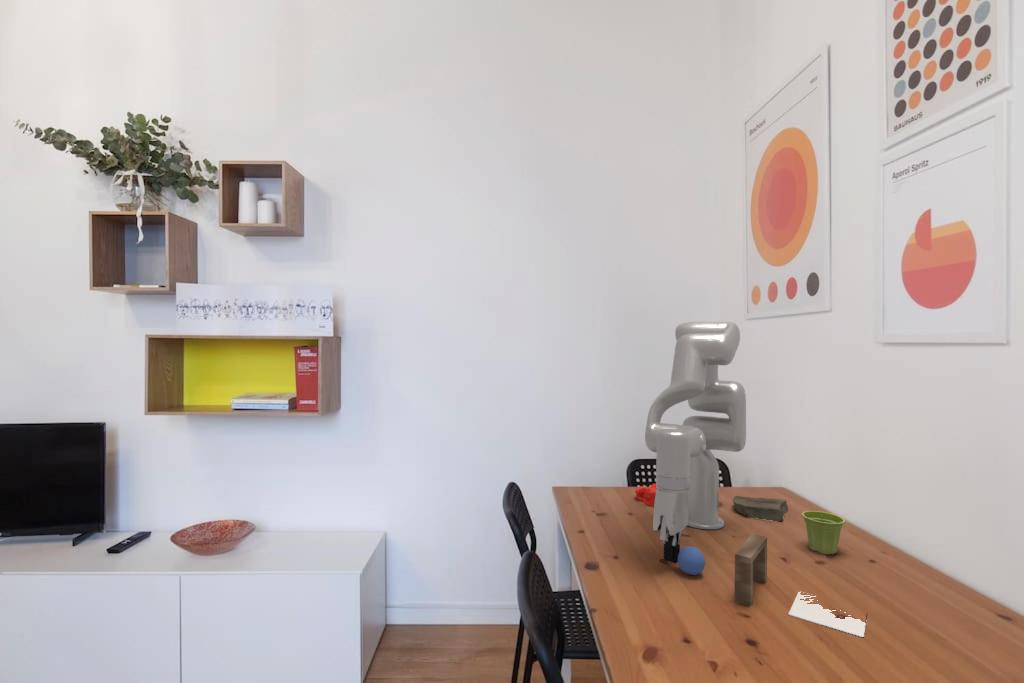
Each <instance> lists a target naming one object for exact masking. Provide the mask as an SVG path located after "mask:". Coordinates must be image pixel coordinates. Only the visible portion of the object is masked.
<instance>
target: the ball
mask: <svg viewBox="0 0 1024 683" xmlns="http://www.w3.org/2000/svg"><path fill="white" fill-rule="evenodd" d="M705 558H706V557H705V556H704V554H703V552H702V551H701V550H700V549H699V548H697V547H694V546H689V545H688V546H684V547H683V548H680V552H679V554H678V558H677V559H678V562H677V564H678V566H679V568H680V569H681V571H682V572H683V573H685V574H687V575H692V576H696V575H699V574H700V573H702V572H703V571H704V570H705V567H706V559H705Z"/></svg>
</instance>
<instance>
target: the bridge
mask: <svg viewBox="0 0 1024 683" xmlns="http://www.w3.org/2000/svg"><path fill="white" fill-rule="evenodd" d="M767 570H768V536H766V535H762V534H757V533H752V534H751V535H750V536H749V537H748V538H747V539H746V541H745V542H744V543H743V544H742V545H741V547H739V548H738V550H737V551H736V552H735V554H734V599H733V600H734V603H737V604H738V605H739V604H740V605H744V606H746V607H752V605H753V603H754V599H753V598H754V581H755V582H757V583H761V584H766V582H767V580H768V571H767Z"/></svg>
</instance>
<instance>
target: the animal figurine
mask: <svg viewBox="0 0 1024 683" xmlns="http://www.w3.org/2000/svg"><path fill="white" fill-rule="evenodd" d="M656 491H657V488H656V483H652V484H651V485H650V486H649V487H645V485H641V486H639V487H638V486H637V487H636V488H635V491H634V492H635V494H636V495H635V498H636V499H639V500H640V501H641V502H642V503H643V504H644V505H647V506H651V507H654V504H655V496H656Z"/></svg>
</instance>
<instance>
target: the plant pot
mask: <svg viewBox="0 0 1024 683" xmlns="http://www.w3.org/2000/svg"><path fill="white" fill-rule="evenodd" d="M801 515H802V517H803V520H804V522H805V527H806V533H807V534H806V535H807V540H808V548H809V549H810V550H811V551H814V552H818V553H819V554H821V553H822V555H829V554H832V555H834V554H837V553H838V552H837V551H838V546H839V541H840V535H841V530H842V528H843V527H844V526H843V525H844V524H845V522H846V520H845V519H844V518H843V517H841V516H839V515H837V514H834V513H831V512H826V511H820V510H819V511H818V510H806V511H803V512H802V513H801Z"/></svg>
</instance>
